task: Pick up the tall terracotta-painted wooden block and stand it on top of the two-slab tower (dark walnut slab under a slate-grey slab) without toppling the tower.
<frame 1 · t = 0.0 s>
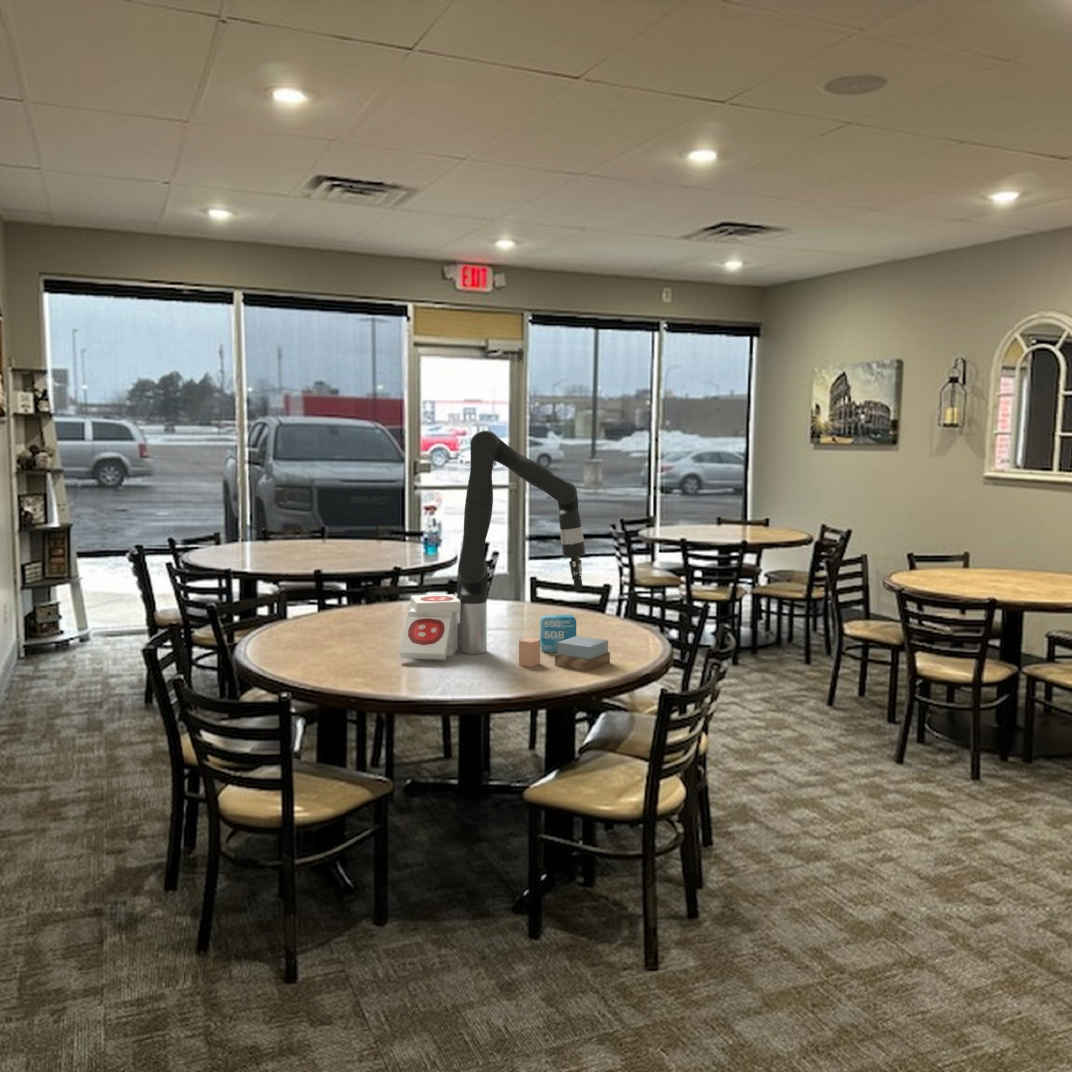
hand: (578, 588, 321), 22 cm above the table, tool pointing down, fingers open, 8 cm apart
tower base: (582, 665, 309), on the table, touching tower top
pizza boxes: (432, 654, 322), on the table
tower top: (582, 653, 309), point 4 cm above the table, touching tower base
data package: (558, 651, 328), on the table
terracotta block: (529, 664, 308), on the table
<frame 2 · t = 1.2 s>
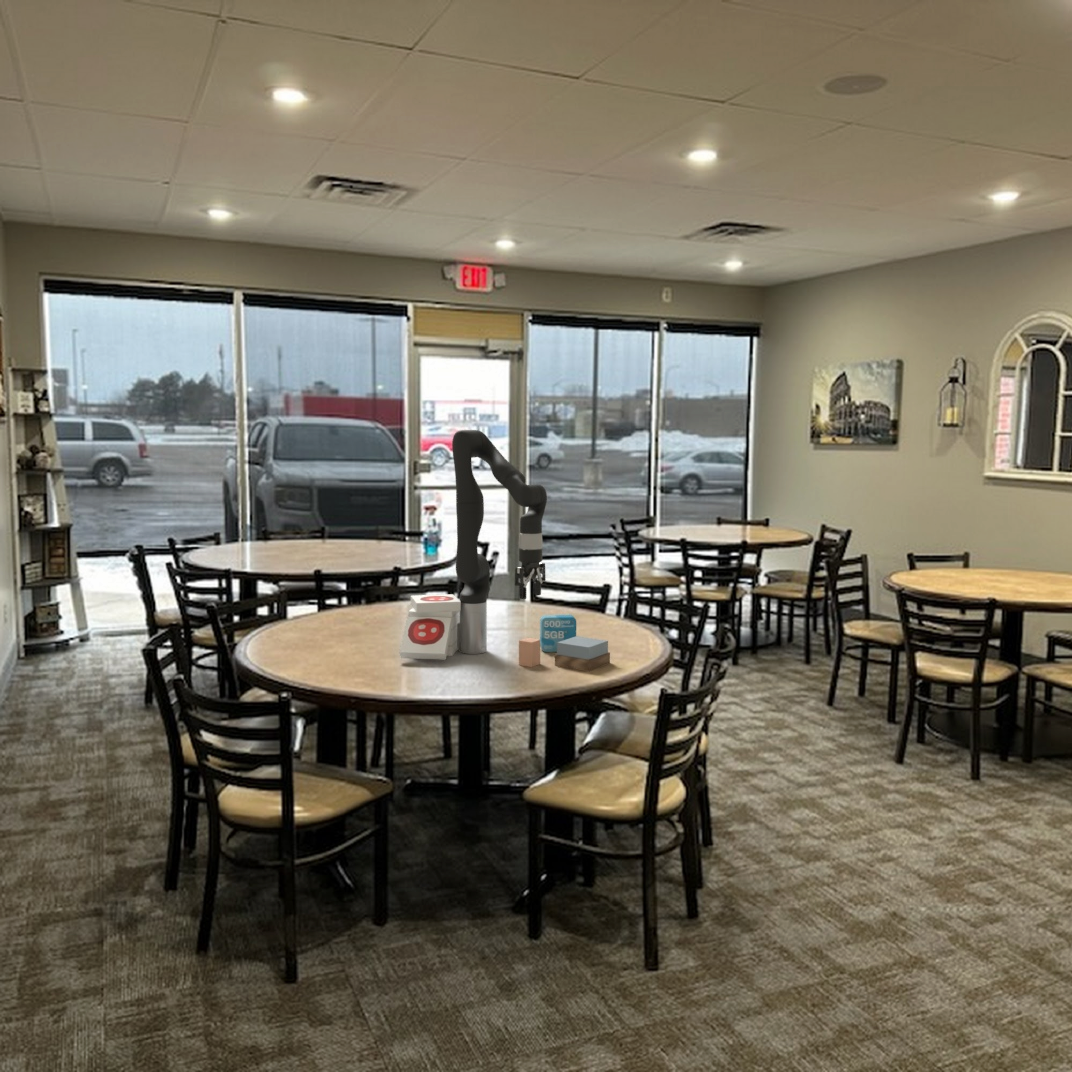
hand: (530, 597, 306), 22 cm above the table, tool pointing down, fingers open, 8 cm apart
nothing on the table moved.
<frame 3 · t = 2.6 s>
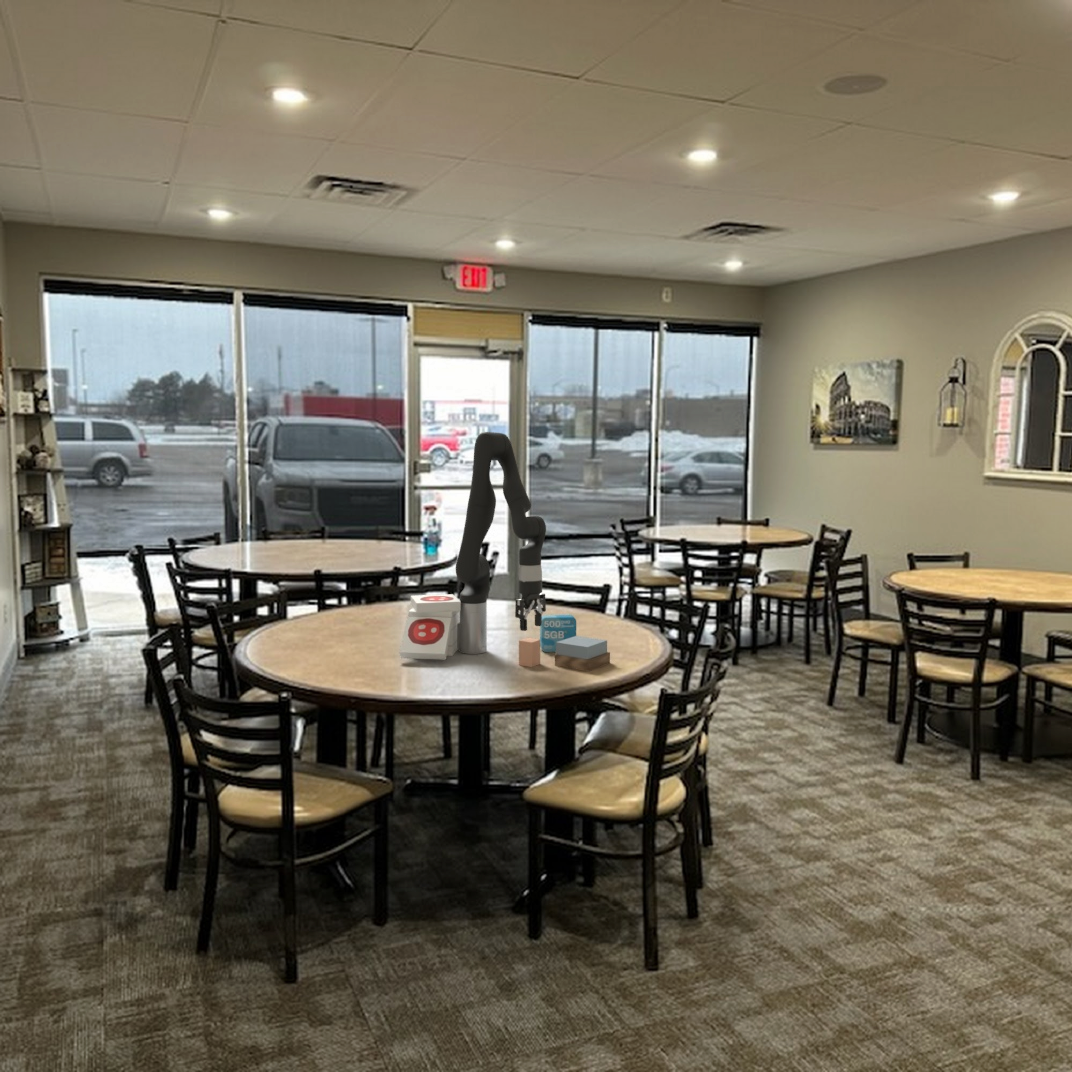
hand: (530, 628, 307), 12 cm above the table, tool pointing down, fingers open, 8 cm apart
nothing on the table moved.
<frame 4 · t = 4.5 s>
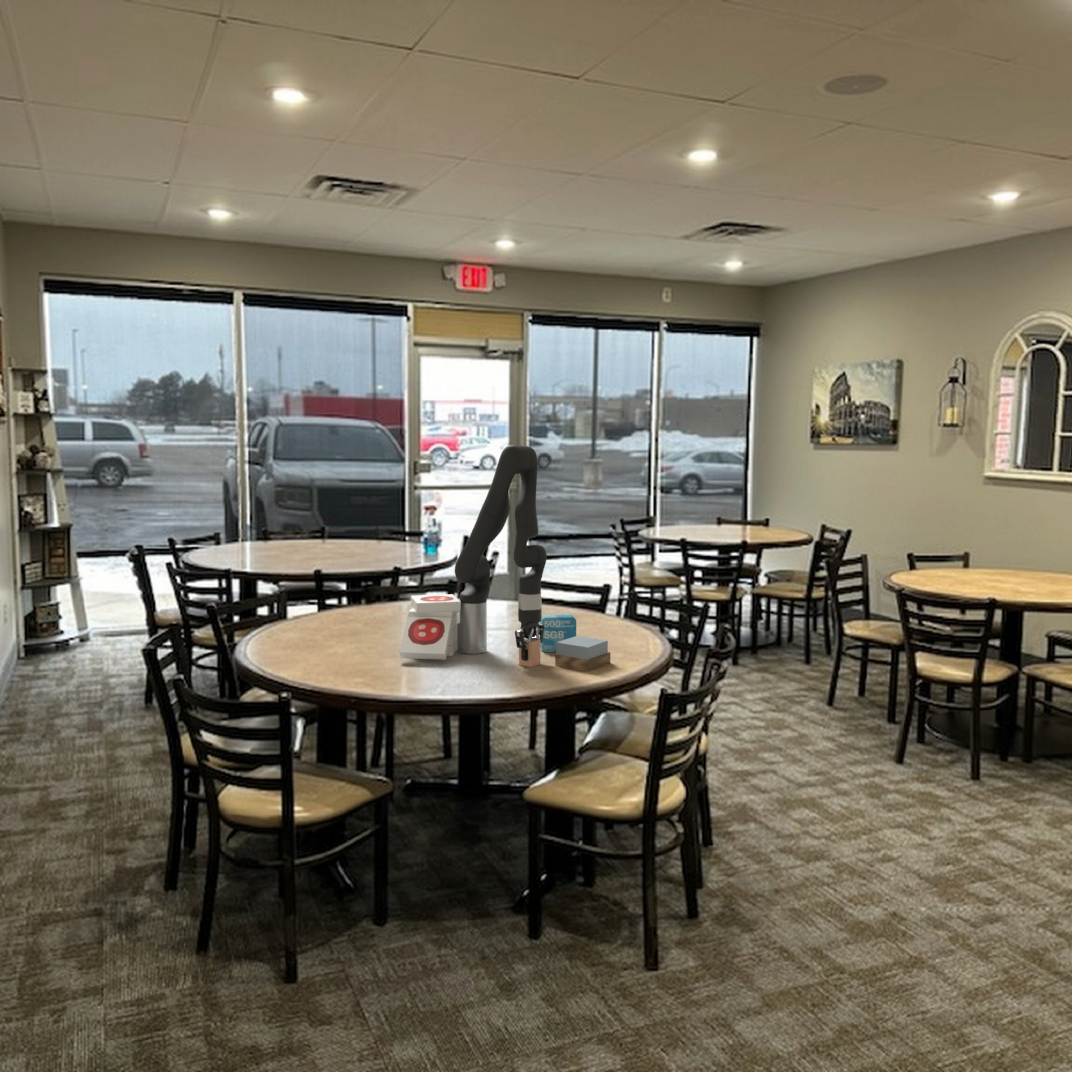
hand: (529, 658, 308), 2 cm above the table, tool pointing down, fingers closed on terracotta block, 5 cm apart
terracotta block: (529, 664, 308), on the table, touching gripper
everything else where it was.
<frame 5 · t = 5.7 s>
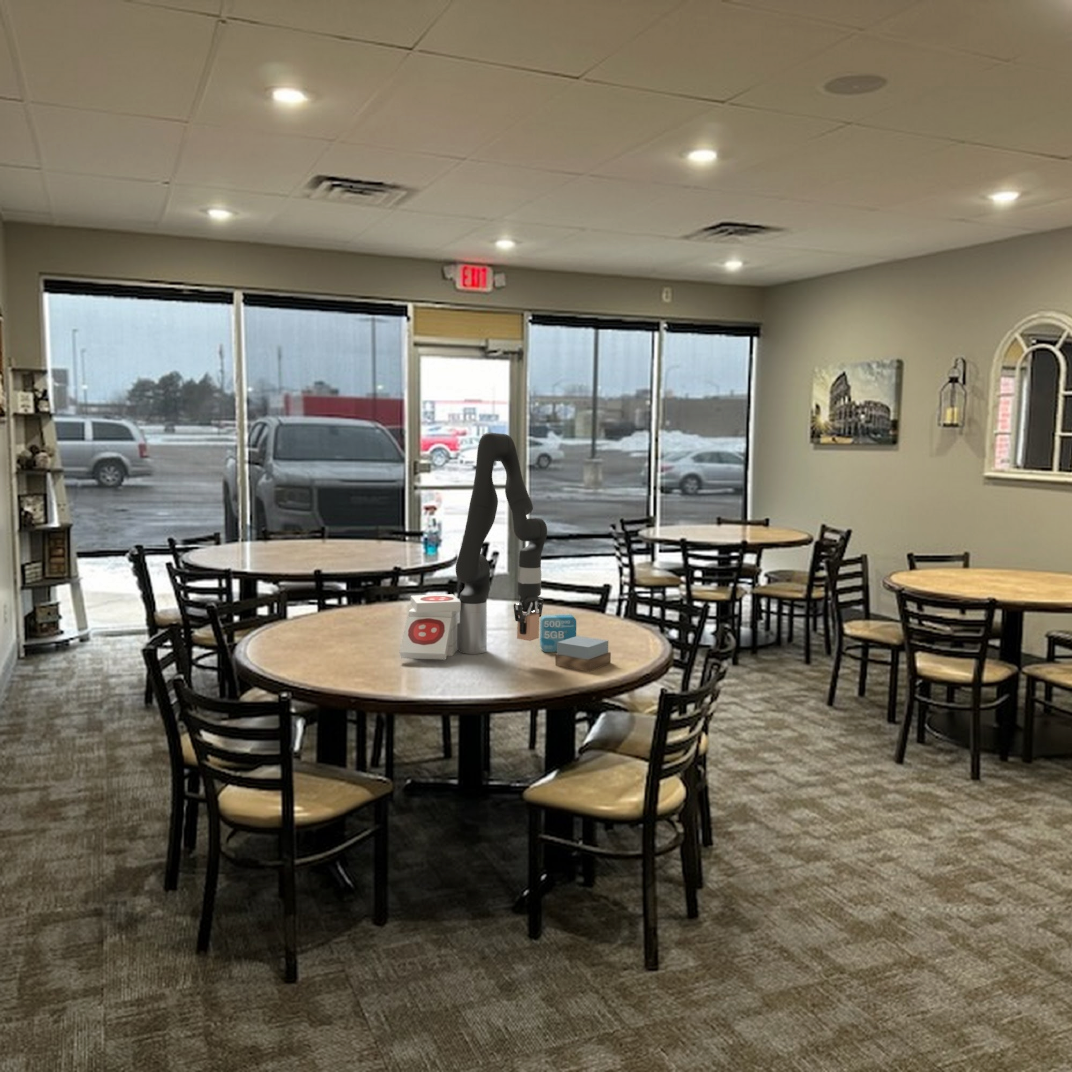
hand: (527, 632, 307), 11 cm above the table, tool pointing down, fingers closed on terracotta block, 5 cm apart
terracotta block: (527, 638, 307), point 9 cm above the table, touching gripper
everything else where it was.
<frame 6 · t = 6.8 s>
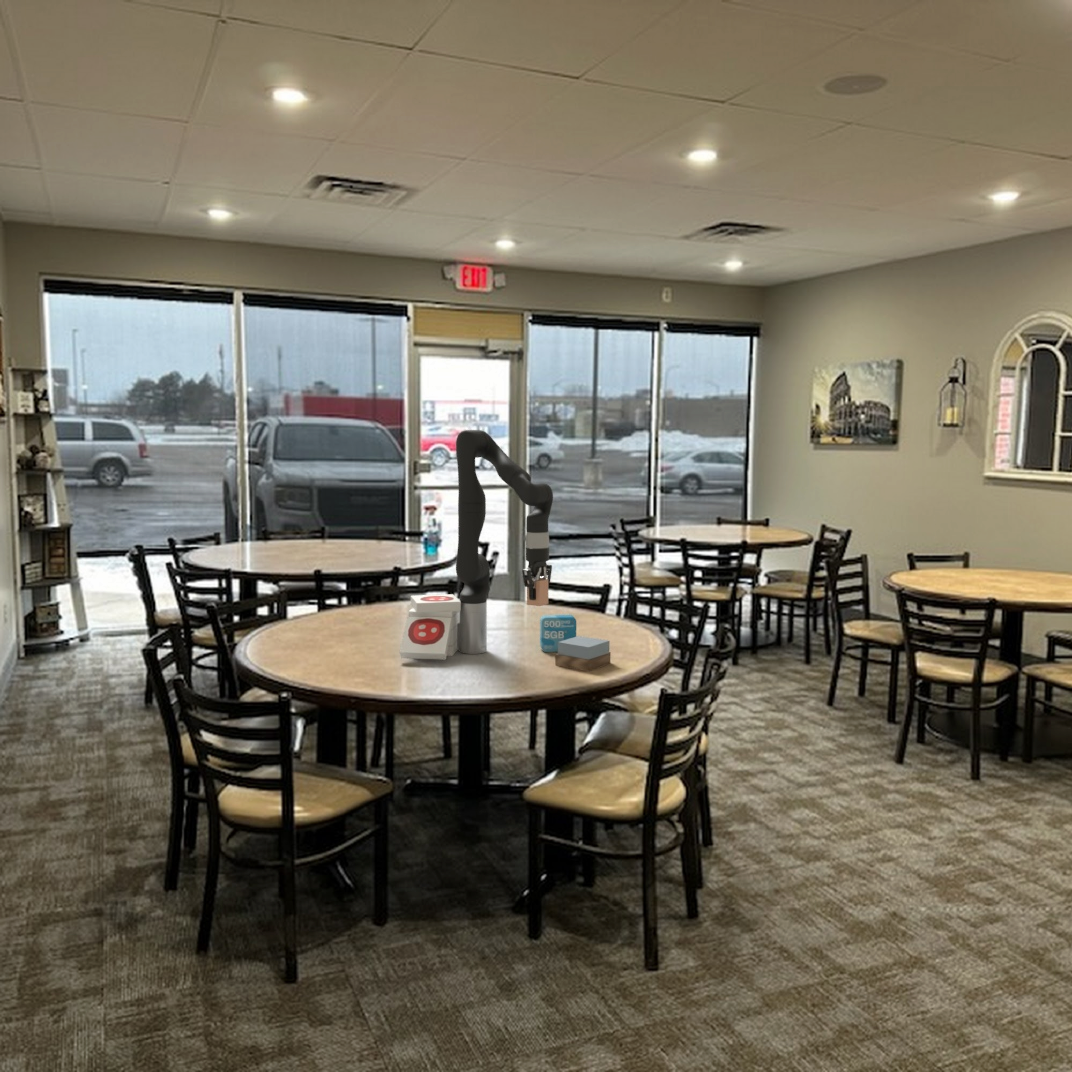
hand: (537, 598, 306), 22 cm above the table, tool pointing down, fingers closed on terracotta block, 5 cm apart
terracotta block: (537, 604, 306), point 20 cm above the table, touching gripper
everything else where it was.
when the fingers open (11 cm above the table, at t = 9.5 s): terracotta block drops 2 cm, resting on tower top.
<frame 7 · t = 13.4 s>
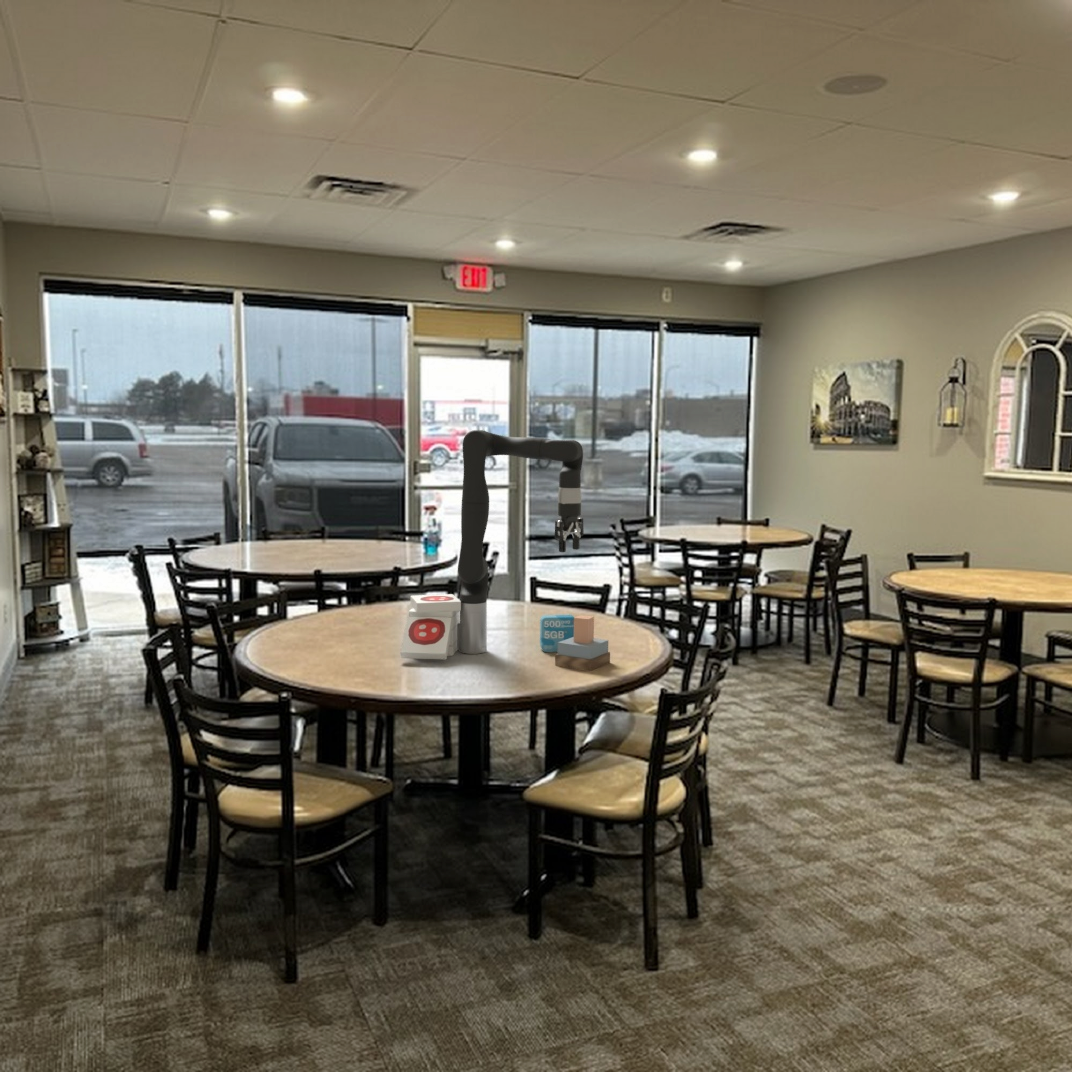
hand: (569, 550, 313), 36 cm above the table, tool pointing down, fingers open, 8 cm apart
pizza boxes: (432, 654, 322), on the table, touching arm
tower top: (583, 653, 309), point 3 cm above the table, touching terracotta block, tower base
terracotta block: (583, 641, 308), point 7 cm above the table, touching tower top
everything else where it was.
at the end: terracotta block 0.2 cm off-centre on the tower top, point 4.0 cm above the tower top's base; terracotta block tilted 0°; tower top moved 0.6 cm from its start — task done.
